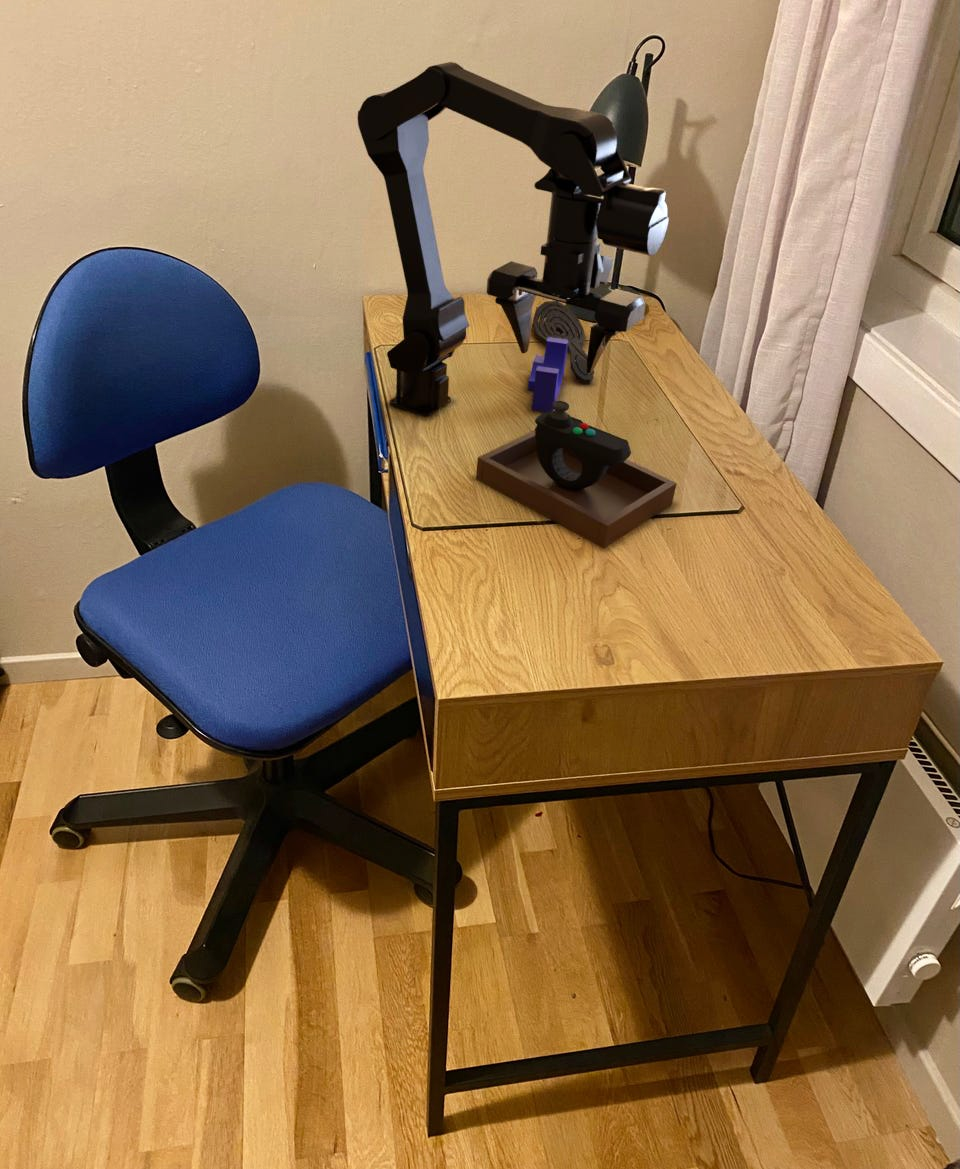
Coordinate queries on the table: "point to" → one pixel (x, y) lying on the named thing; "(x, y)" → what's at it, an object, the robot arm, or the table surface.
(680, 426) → the table surface
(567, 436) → the controller
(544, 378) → the purple stepped block
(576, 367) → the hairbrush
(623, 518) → the tray
